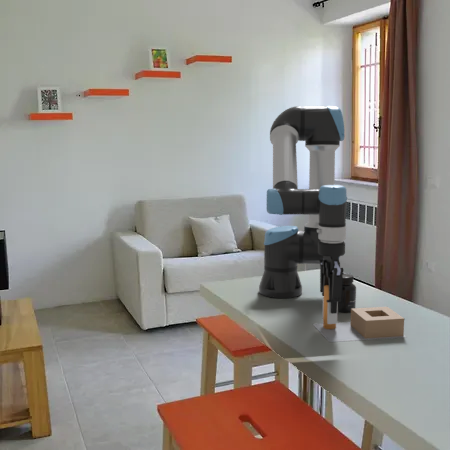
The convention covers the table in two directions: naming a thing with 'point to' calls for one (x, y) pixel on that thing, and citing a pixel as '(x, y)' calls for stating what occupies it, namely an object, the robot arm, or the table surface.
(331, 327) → the peg
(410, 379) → the table surface
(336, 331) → the socket board
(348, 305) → the supplement bottle
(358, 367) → the table surface
